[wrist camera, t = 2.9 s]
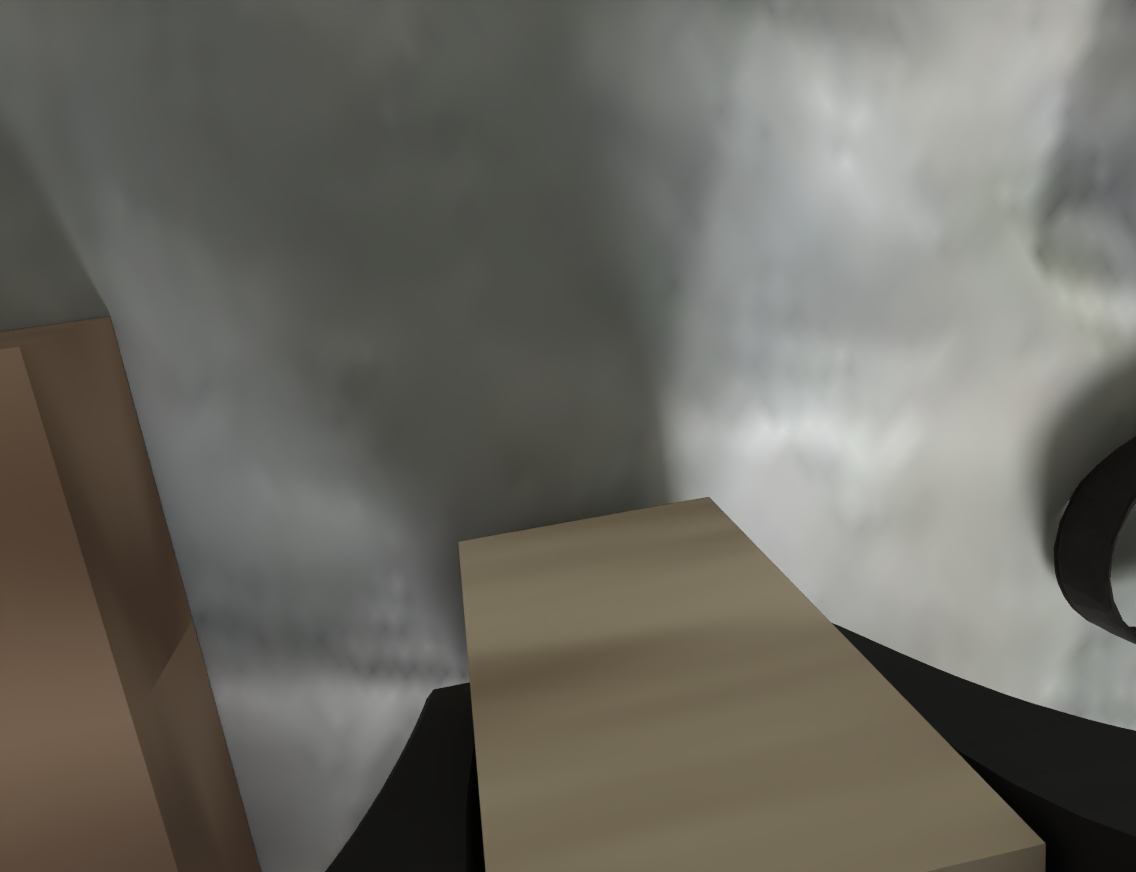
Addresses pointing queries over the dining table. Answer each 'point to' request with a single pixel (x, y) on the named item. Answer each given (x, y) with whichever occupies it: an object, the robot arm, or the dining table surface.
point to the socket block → (98, 634)
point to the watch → (1096, 539)
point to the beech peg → (698, 716)
